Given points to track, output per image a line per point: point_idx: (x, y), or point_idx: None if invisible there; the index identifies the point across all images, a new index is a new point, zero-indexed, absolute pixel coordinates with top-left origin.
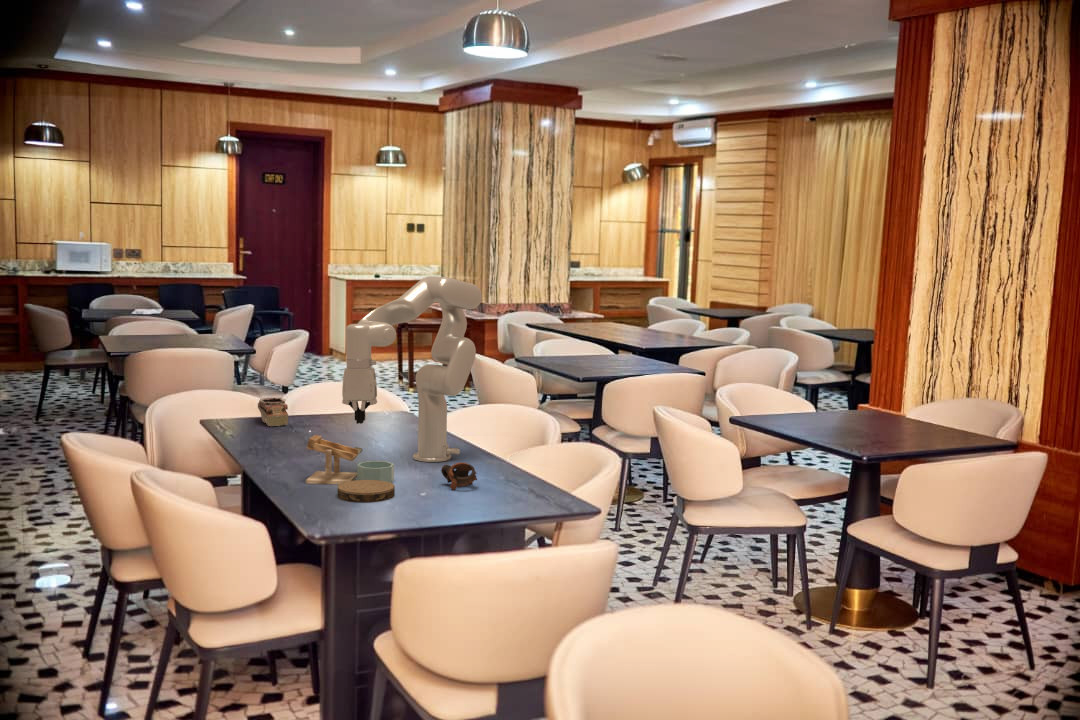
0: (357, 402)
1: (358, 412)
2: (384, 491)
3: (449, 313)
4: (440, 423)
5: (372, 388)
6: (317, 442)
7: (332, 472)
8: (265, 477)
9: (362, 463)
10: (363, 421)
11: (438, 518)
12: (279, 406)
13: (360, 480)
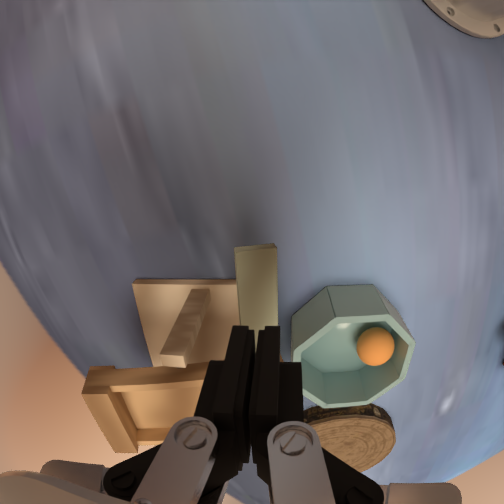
0: (194, 501)
1: (248, 458)
2: (372, 465)
3: None
4: None
5: None
6: (125, 415)
7: (187, 294)
8: (49, 322)
9: (303, 348)
10: (279, 330)
11: (432, 478)
12: None
13: (316, 427)
